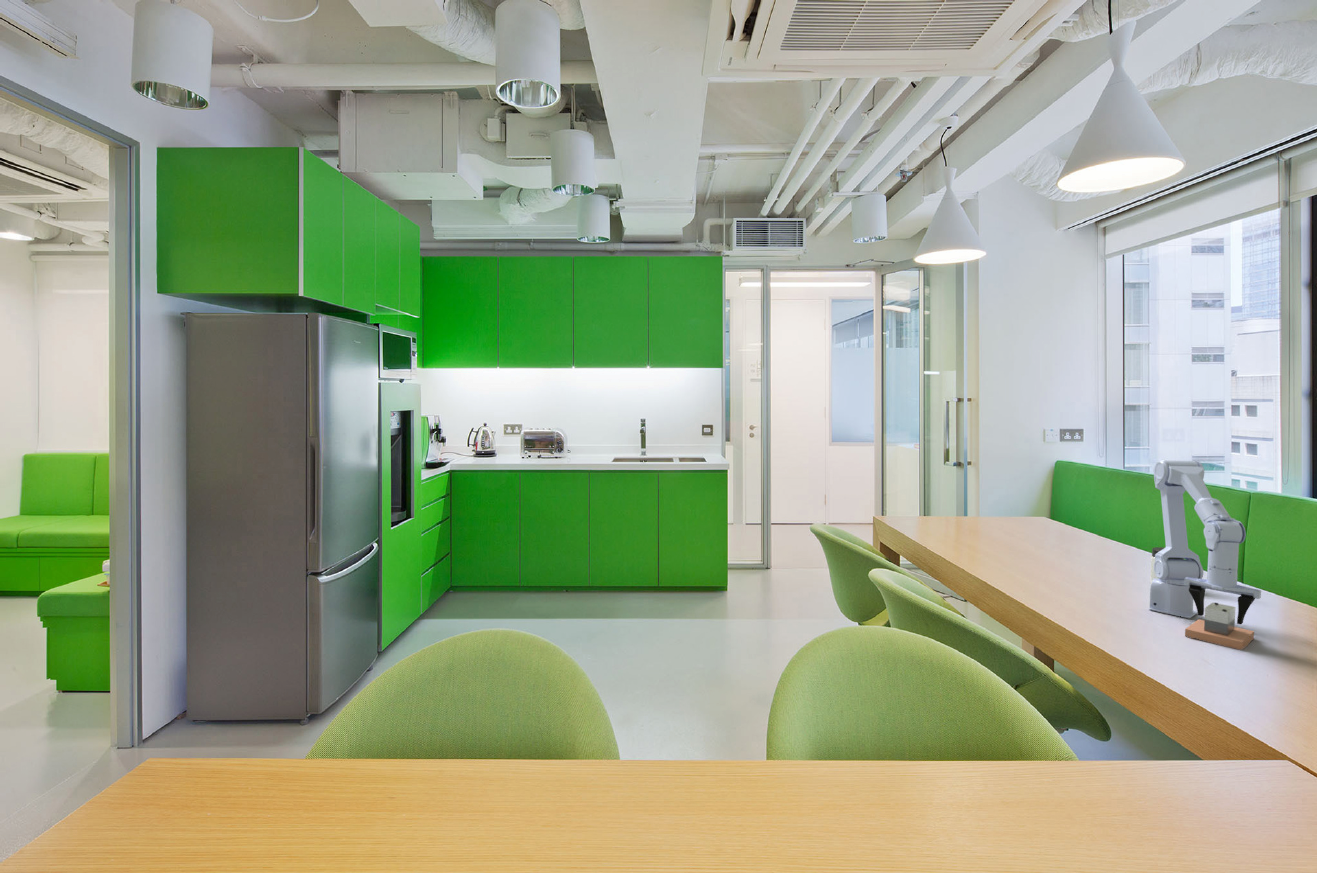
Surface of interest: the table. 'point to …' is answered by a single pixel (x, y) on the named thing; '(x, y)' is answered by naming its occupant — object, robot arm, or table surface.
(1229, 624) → the block
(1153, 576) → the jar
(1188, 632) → the stand
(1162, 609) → the robot arm
